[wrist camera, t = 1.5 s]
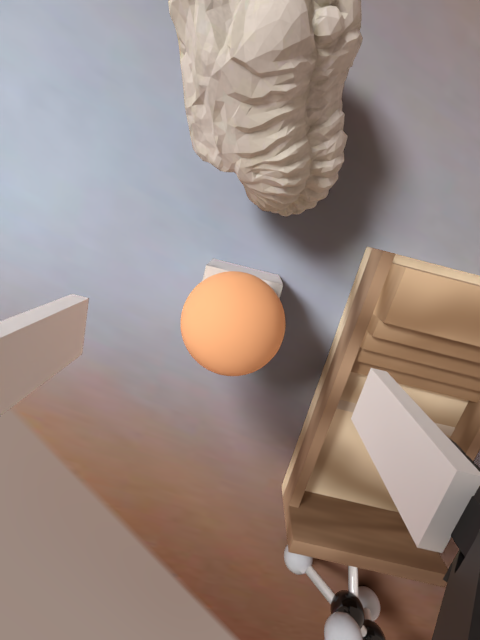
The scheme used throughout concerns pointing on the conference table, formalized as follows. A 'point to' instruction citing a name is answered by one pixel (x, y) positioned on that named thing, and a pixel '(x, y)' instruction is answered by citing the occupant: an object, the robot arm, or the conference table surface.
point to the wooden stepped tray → (342, 396)
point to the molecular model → (343, 603)
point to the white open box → (222, 266)
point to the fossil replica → (269, 92)
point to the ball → (233, 323)
